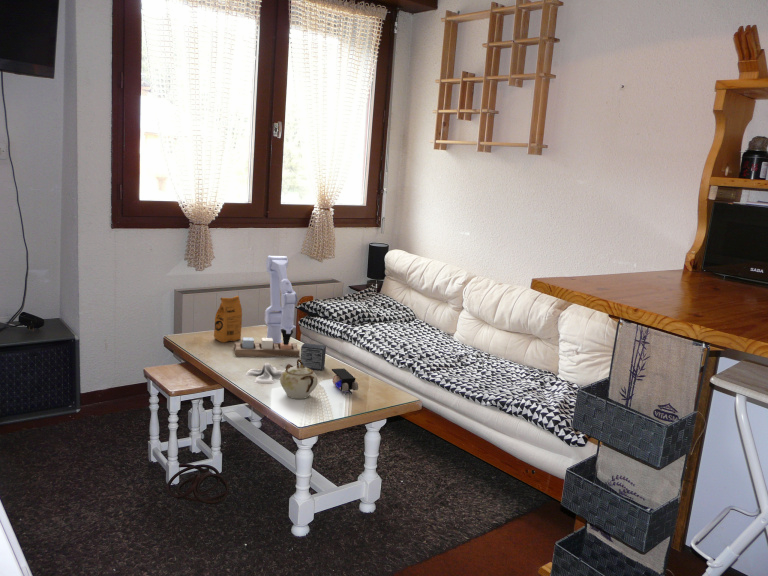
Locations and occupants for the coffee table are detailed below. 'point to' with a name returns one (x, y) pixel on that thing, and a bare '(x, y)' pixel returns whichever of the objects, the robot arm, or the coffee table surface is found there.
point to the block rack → (266, 350)
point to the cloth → (265, 374)
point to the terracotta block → (285, 346)
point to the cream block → (267, 343)
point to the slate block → (248, 342)
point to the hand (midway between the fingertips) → (285, 344)
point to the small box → (313, 356)
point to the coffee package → (228, 320)
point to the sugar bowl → (298, 381)
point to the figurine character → (344, 380)
